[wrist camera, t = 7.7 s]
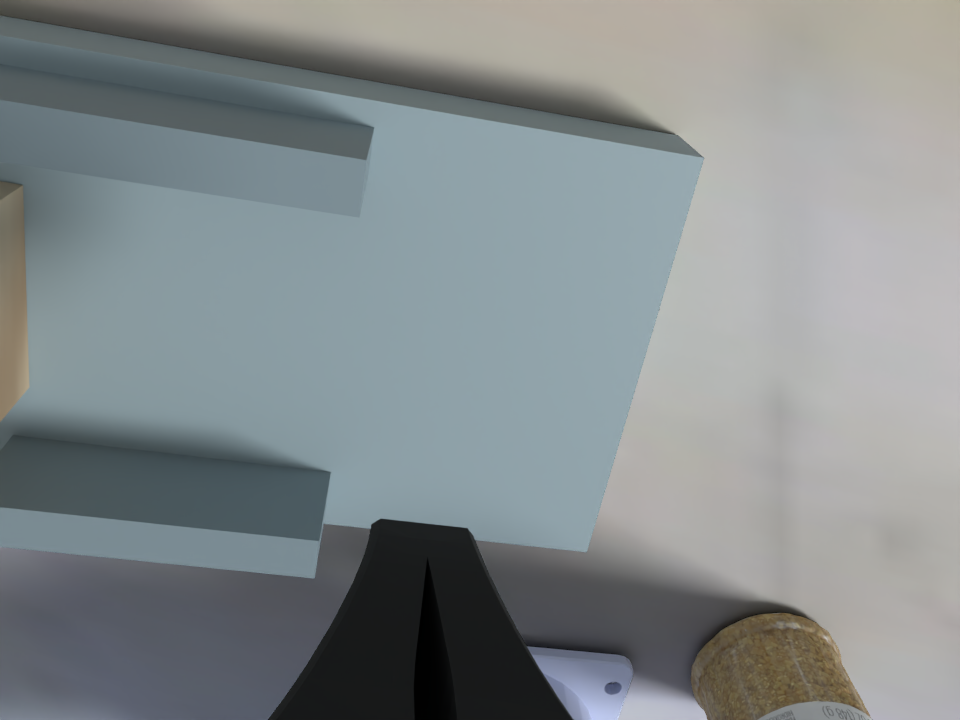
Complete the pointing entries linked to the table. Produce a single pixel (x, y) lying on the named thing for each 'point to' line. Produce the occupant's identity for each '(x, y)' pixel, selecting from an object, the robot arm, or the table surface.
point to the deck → (315, 304)
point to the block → (12, 298)
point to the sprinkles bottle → (774, 673)
